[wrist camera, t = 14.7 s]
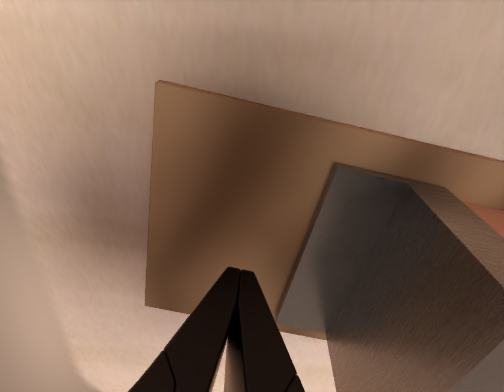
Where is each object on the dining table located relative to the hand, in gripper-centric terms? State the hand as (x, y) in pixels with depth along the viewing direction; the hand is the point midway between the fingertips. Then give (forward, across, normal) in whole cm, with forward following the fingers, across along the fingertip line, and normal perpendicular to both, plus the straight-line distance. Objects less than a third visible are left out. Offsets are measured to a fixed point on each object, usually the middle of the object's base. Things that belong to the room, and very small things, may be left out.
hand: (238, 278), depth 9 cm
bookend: (+5, -6, +2) cm, 8 cm away
